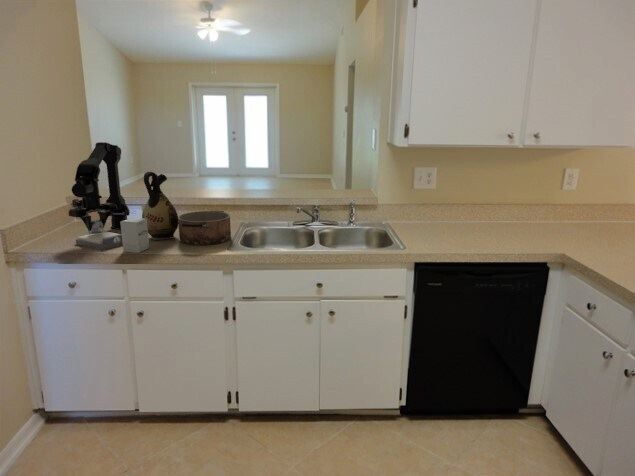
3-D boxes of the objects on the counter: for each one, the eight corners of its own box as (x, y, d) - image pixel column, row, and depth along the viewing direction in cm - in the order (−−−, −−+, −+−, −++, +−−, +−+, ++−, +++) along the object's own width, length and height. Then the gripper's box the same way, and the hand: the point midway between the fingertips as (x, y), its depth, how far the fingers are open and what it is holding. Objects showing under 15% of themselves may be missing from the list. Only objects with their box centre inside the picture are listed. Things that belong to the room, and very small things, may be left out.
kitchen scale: (105, 236, 190) (104, 228, 189) (131, 242, 182) (131, 233, 181) (76, 244, 178) (75, 235, 177) (102, 250, 170) (101, 240, 169)
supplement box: (139, 253, 167) (136, 222, 164) (122, 251, 168) (119, 221, 165) (150, 248, 174) (147, 218, 171) (134, 246, 175) (131, 217, 172)
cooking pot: (215, 250, 173) (214, 224, 170) (165, 246, 177) (163, 221, 174) (240, 232, 201) (240, 210, 199) (197, 229, 205) (196, 208, 202)
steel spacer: (98, 230, 184) (96, 218, 183) (106, 231, 182) (105, 220, 181) (86, 232, 180) (85, 221, 178) (94, 234, 177) (93, 222, 176)
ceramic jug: (159, 232, 199) (153, 168, 192) (186, 235, 194) (182, 170, 187) (133, 241, 184) (126, 172, 176) (162, 244, 179) (156, 174, 171)
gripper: (99, 189, 188) (103, 222, 192) (57, 194, 172) (63, 231, 176) (115, 191, 183) (119, 225, 187) (74, 197, 167) (80, 235, 171)
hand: (96, 229), depth 181 cm, fingers open, 6 cm apart
